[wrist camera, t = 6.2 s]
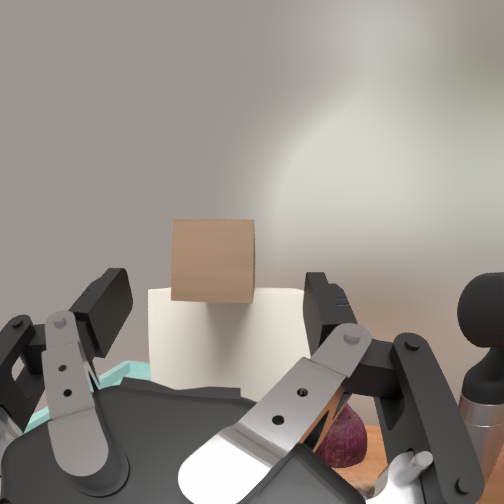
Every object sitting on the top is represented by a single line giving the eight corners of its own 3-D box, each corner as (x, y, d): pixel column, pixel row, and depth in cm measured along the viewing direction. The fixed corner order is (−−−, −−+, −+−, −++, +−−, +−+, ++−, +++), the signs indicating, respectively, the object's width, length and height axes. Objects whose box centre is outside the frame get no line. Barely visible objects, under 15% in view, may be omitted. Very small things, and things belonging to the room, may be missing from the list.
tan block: (224, 286, 34) (225, 256, 35) (254, 287, 34) (255, 257, 34) (170, 300, 12) (173, 219, 13) (252, 303, 12) (253, 219, 13)
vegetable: (337, 485, 37) (342, 431, 34) (300, 458, 45) (296, 403, 43) (377, 453, 42) (386, 396, 40) (339, 432, 51) (341, 376, 48)
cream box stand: (196, 501, 30) (185, 286, 33) (281, 505, 30) (293, 288, 33) (181, 556, 18) (148, 289, 21) (287, 562, 18) (313, 293, 21)
